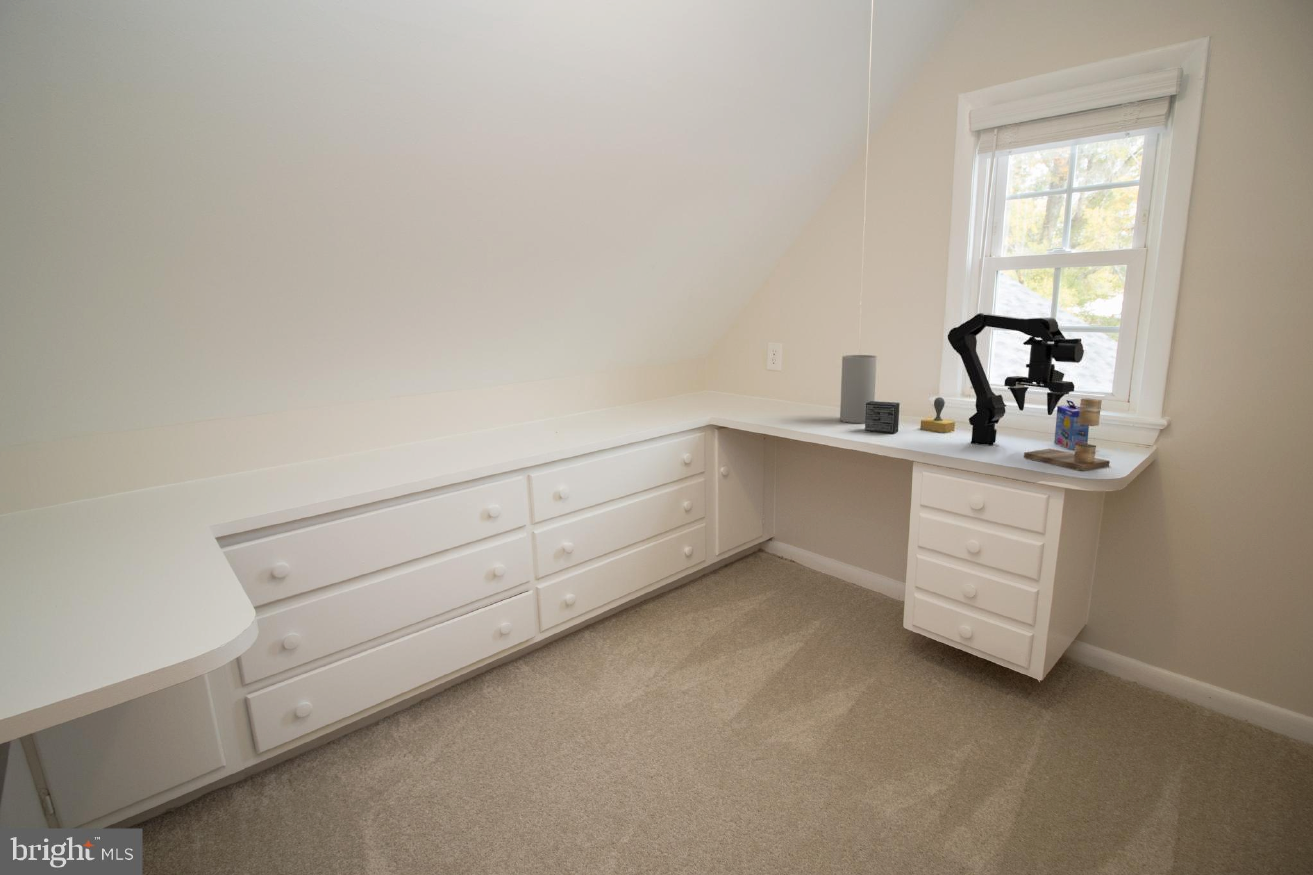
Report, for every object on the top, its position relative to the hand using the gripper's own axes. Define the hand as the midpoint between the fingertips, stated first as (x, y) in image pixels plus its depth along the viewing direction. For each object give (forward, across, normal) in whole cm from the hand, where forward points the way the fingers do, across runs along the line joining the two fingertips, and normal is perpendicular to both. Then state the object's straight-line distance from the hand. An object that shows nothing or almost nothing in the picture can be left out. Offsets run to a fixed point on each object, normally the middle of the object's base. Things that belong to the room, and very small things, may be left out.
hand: (1035, 412), depth 195 cm
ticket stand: (+12, -13, +3) cm, 18 cm away
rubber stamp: (+12, +37, -1) cm, 39 cm away
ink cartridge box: (+12, -1, -16) cm, 21 cm away
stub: (0, -18, +3) cm, 18 cm away
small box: (+12, +45, +17) cm, 50 cm away
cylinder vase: (+12, +65, +12) cm, 67 cm away
